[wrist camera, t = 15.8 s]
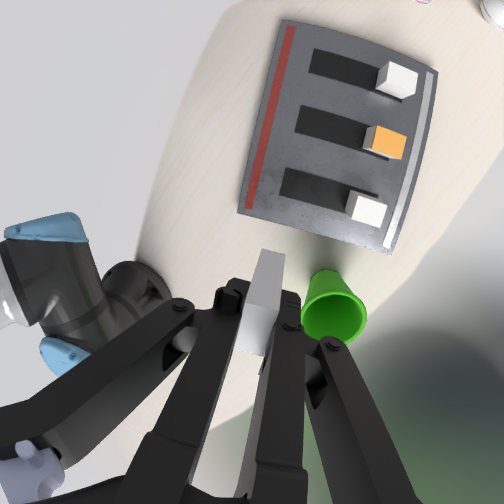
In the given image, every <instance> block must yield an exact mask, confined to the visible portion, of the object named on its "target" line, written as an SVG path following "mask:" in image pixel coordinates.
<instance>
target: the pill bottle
mask: <svg viewBox="0 0 504 504" xmlns="http://www.w3.org/2000/svg"><path fill="white" fill-rule="evenodd" d="M414 1H415V2H417V3H420V4H427V3H429V2H430V1H431V0H414Z"/></svg>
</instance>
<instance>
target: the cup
mask: <svg viewBox="0 0 504 504" xmlns="http://www.w3.org/2000/svg"><path fill="white" fill-rule="evenodd" d="M366 320H367V312H366V308H365V306H364V304H363V302H362V301H361V300H360V299H359V298H358V297H357V296H355V295H354V294H353V293H352V291H351V290H350V289H349V287H348V286H347V284H346V283H345V282H344V280H343V279H342V278H341V276H340V275H339V274H338V273H337V272H335V271H333V270H327V269H325V270H321V271H319V272H317V273H316V274H315V275H314V276H313V277H312V279H311V281H310V285H309V289H308V293H307V296H306V300H305V304H304V306H303V307H302V309H301V324H302V325H303V326H304V329H305V333H306V334H307V335H309V336H310V337H312V338H314V339H316V340H319V341H320V339H321V338H322V337H324V336H333V337H336V338H338V339H340V340H342V341H343V342H344V343H345V344H346V345H347V344H348V343H350V342H352V341H353V340H355V339H356V338H357V337H358V336H359V335H360V333H361V332H362V330H363V329H364V326H365V324H366Z"/></svg>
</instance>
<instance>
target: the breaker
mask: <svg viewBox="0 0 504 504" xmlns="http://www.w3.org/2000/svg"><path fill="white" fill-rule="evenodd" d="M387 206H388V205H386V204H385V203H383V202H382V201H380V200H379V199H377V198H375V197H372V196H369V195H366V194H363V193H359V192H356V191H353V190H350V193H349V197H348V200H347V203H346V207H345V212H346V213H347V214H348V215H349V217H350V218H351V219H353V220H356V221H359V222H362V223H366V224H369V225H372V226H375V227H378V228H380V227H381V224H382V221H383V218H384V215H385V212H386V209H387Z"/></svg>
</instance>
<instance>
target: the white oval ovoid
mask: <svg viewBox="0 0 504 504" xmlns="http://www.w3.org/2000/svg"><path fill="white" fill-rule="evenodd" d="M480 8H481V12H482V14H483V16H484V18H485V19H486V20H487V22H488V23H489V24H491V25H492V26H493V27H495V28H497V29H500V30H504V1H503V0H481V4H480Z"/></svg>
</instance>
